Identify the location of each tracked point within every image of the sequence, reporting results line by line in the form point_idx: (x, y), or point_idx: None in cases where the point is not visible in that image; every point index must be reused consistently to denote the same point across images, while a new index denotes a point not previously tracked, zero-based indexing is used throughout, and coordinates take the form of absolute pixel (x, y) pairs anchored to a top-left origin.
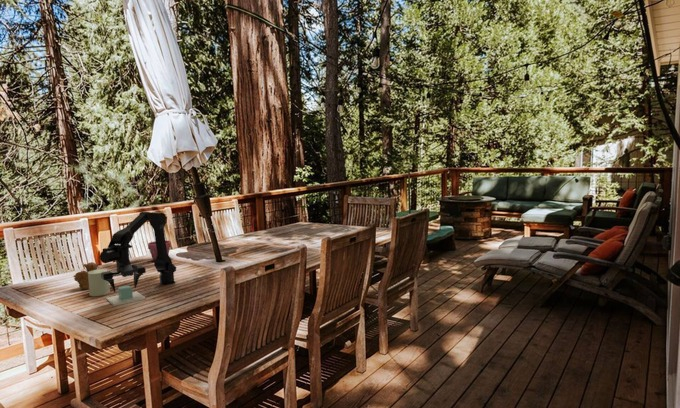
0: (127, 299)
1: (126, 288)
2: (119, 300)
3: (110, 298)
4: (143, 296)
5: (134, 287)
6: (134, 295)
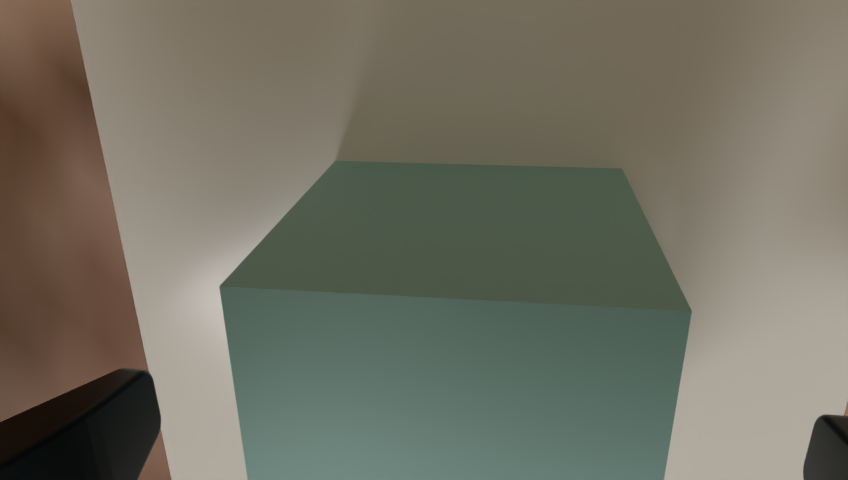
0: (492, 82)
1: (442, 314)
2: (686, 152)
3: (763, 472)
4: (88, 34)
5: (154, 420)
6: None
